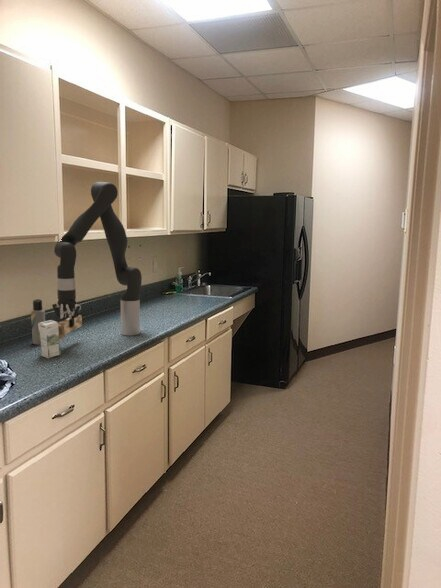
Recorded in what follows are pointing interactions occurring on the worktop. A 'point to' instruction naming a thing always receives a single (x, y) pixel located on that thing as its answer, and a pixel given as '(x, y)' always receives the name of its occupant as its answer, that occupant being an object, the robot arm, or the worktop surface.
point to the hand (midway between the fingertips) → (67, 326)
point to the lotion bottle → (37, 319)
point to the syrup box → (49, 339)
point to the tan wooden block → (65, 327)
